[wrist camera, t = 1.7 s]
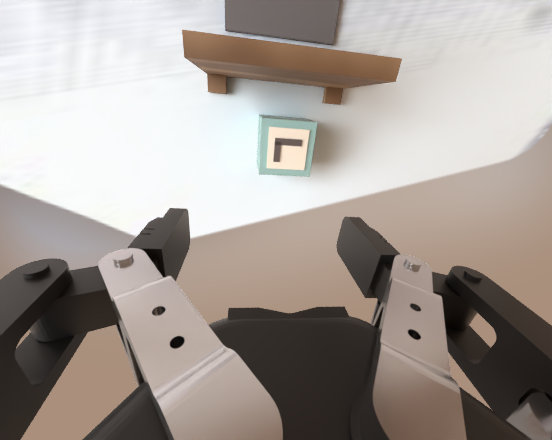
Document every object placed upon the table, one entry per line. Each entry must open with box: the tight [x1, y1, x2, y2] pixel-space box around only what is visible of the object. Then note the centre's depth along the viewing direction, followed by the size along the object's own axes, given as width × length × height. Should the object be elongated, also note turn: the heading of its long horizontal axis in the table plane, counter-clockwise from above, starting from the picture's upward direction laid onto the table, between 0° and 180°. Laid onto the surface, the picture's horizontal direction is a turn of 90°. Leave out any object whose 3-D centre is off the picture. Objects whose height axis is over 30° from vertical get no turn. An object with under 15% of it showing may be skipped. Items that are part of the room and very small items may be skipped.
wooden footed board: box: [182, 30, 402, 104], centre depth 22 cm, size 5×16×12 cm, turn 85°
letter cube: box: [257, 115, 318, 177], centre depth 28 cm, size 6×6×6 cm
